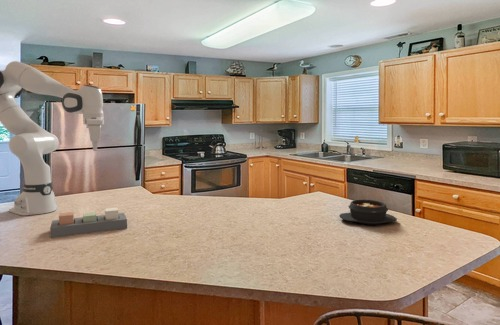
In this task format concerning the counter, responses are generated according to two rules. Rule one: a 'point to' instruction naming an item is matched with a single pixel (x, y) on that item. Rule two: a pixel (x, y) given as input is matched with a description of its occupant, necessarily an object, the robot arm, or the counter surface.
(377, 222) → the casserole
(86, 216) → the sage green block
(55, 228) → the console
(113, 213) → the cream block
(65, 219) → the terracotta block
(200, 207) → the counter surface
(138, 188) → the counter surface
